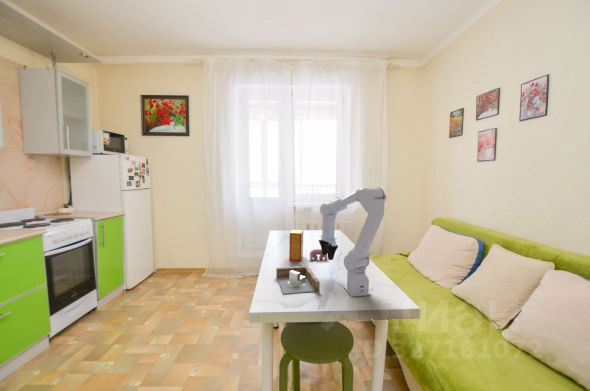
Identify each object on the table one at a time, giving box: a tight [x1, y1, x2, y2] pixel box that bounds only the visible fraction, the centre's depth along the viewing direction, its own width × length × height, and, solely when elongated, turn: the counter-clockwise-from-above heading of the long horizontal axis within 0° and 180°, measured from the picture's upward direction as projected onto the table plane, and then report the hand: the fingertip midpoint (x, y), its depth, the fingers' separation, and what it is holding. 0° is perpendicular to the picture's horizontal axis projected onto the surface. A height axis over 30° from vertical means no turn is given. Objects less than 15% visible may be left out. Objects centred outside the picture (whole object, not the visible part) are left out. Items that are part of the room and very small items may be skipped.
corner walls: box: [275, 265, 320, 293], centre depth 113 cm, size 18×15×4 cm
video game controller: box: [309, 248, 328, 262], centre depth 146 cm, size 10×5×7 cm, turn 93°
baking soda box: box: [288, 229, 304, 262], centre depth 148 cm, size 10×6×16 cm
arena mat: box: [276, 276, 316, 295], centre depth 114 cm, size 18×15×1 cm
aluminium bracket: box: [289, 270, 306, 285], centre depth 115 cm, size 6×4×5 cm
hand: (327, 257), depth 122 cm, fingers open, 7 cm apart
